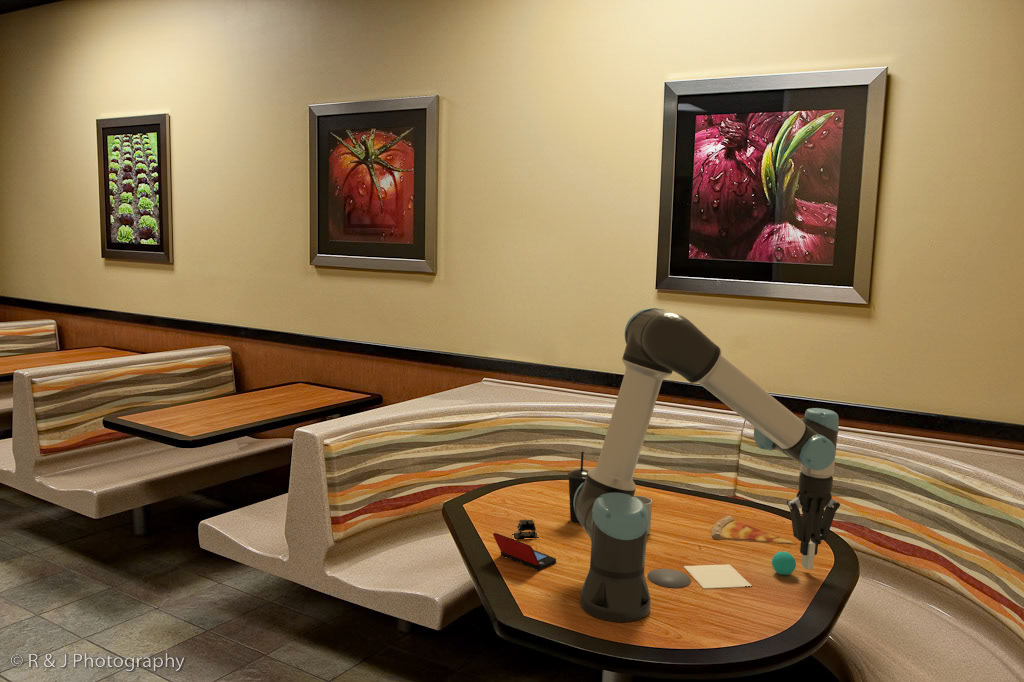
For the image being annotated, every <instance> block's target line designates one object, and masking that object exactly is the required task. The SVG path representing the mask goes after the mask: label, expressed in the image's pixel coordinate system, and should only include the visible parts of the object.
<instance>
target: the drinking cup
mask: <svg viewBox="0 0 1024 682" xmlns="http://www.w3.org/2000/svg"><path fill="white" fill-rule="evenodd" d="M584 454H585V453H584V451H581V454H580V468H575V469H573V470H570V471H568V472H567V476H568V495H569V516H570V517H569V520H571V521H572V522H573V524H575V523H578V524H577V525H581V524H580V522H579V521H578V519H577V517H576V514H575V510H574V496H575V493H576V491H577V489H578V487H579V486H580V485H581V484H582V483H584V482H585V480H586V476H587V473H588V471H589V469H584V459H585V458H584ZM571 521H570V522H571ZM572 522H571V523H572Z"/></svg>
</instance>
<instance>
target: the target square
mask: <svg viewBox="0 0 1024 682" xmlns="http://www.w3.org/2000/svg"><path fill="white" fill-rule="evenodd" d="M683 568H684V569H685V570H686V571H687V572H688V574H689V575H690V576H691V577H692V578H693V579H694V580H695V581H696V583H698V585H700V587H701V588H702V589H704V590H709V589H710V590H711V589H729V588H731V589H732V588H752V587H753V585H752V584H751V583H750V582H749V581H748V580H746V579H745V577H743V576H742V575H741V574H740V573H739V572H738V571H737V570H736V569H735V568H734V567H733V566H732V565H731V564H729V563H726V564H710V565H709V564H708V565H707V564H705V565H702V564H701V565H699V564H698V565H684V566H683ZM745 586H747V587H745ZM748 586H750V587H748ZM751 586H752V587H751Z"/></svg>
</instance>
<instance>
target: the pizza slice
mask: <svg viewBox="0 0 1024 682" xmlns="http://www.w3.org/2000/svg"><path fill="white" fill-rule="evenodd" d="M711 536H712V537H711V539H712V538H715V539H716V540H726V539H730V540H731V541H740V540H748V541H747V542H754V541H761V542H760V543H768V542H779V543H778V544H782V543H796V542H795V541H793V540H790V539H787V538H784V537H782V536H779V535H775V534H773V533H770V532H768V531H764V530H763V529H759V528H757V527H756V528H755V527H754V526H751V525H747V524H745V523H742V522H740V521H736V520H735V518H734V517H733V516H731V515H726V516H724V517H721V518H719V520H718V521H716V522H715V523H714V524H713V525H712V528H711ZM715 539H714V540H715ZM780 542H781V543H780Z"/></svg>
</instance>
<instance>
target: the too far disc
mask: <svg viewBox="0 0 1024 682" xmlns="http://www.w3.org/2000/svg"><path fill="white" fill-rule="evenodd" d="M647 578H648V580H649V582H651V583H653V584H655V585H657V586H659V587H663V588H671V589H680V588H685V587H688V586H689V585H690V584H691V582H692V580H691V579H692V578H691V577H690V576H689V575H688V574H686V573H685V572H683V571H680V570H677V569H671V568H657V569H652V570H650V571H649V572H647Z"/></svg>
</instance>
